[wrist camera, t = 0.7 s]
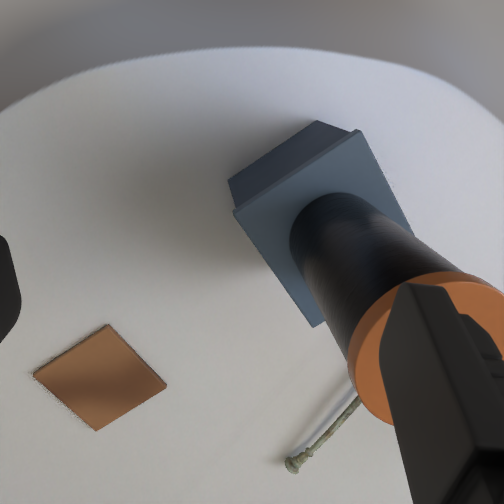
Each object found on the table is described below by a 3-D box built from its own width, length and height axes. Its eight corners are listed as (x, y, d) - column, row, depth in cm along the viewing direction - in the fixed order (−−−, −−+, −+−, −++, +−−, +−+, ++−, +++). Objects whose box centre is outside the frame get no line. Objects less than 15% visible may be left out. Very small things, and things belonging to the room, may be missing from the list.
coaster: (34, 372, 37) (32, 375, 36) (108, 323, 36) (107, 326, 35) (97, 427, 40) (95, 431, 39) (167, 384, 39) (166, 388, 38)
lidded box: (223, 179, 32) (232, 214, 24) (318, 115, 32) (361, 129, 23) (286, 270, 36) (312, 328, 28) (372, 216, 35) (427, 259, 27)
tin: (266, 226, 25) (322, 347, 14) (356, 168, 24) (491, 246, 13) (316, 300, 27) (399, 455, 16) (399, 249, 26) (545, 373, 15)
